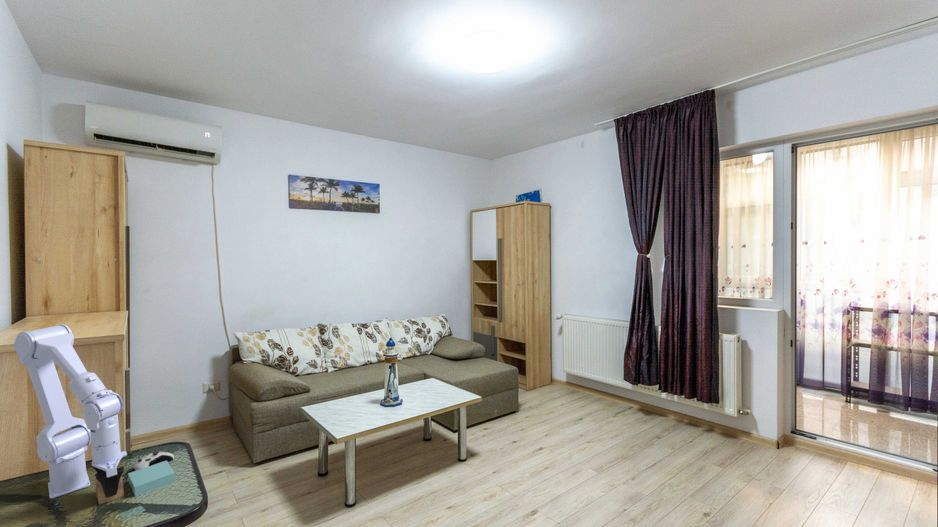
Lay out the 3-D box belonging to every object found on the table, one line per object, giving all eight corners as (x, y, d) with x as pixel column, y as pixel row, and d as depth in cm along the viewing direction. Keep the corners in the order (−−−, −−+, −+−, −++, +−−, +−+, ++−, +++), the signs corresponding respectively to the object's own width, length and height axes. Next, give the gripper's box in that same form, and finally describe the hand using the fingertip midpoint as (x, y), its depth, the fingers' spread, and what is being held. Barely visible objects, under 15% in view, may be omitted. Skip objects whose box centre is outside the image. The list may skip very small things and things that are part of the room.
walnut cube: (96, 496, 114) (94, 478, 114) (120, 487, 118) (119, 470, 117) (99, 504, 111) (97, 486, 110) (123, 495, 114) (122, 478, 114)
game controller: (146, 475, 123) (133, 458, 123) (137, 485, 124) (124, 469, 124) (177, 456, 132) (164, 441, 132) (167, 467, 133) (155, 452, 134)
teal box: (128, 483, 120) (127, 473, 120) (167, 470, 127) (166, 460, 126) (135, 497, 114) (134, 487, 114) (175, 483, 121) (174, 472, 120)
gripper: (130, 446, 111) (134, 496, 112) (120, 427, 121) (123, 473, 122) (94, 456, 106) (98, 509, 107) (86, 436, 115) (90, 484, 117)
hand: (109, 491), depth 114 cm, fingers closed on walnut cube, 5 cm apart
